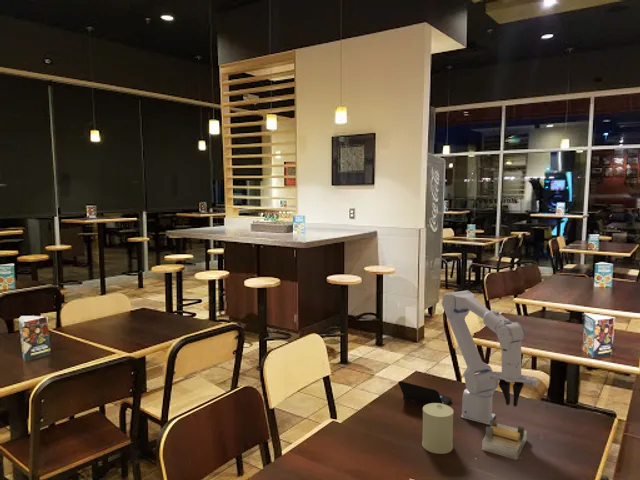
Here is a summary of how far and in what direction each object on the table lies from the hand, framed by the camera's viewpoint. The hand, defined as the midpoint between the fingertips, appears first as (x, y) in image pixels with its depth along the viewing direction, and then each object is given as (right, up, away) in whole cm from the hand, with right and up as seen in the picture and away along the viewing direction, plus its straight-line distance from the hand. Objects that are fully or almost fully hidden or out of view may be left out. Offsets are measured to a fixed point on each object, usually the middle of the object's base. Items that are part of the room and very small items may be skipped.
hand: (511, 404), depth 150 cm
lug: (+1, -8, -4) cm, 9 cm away
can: (-24, -11, -4) cm, 27 cm away
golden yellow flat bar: (-4, -8, -4) cm, 10 cm away
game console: (-22, -8, +25) cm, 34 cm away
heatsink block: (-4, -11, -4) cm, 12 cm away
